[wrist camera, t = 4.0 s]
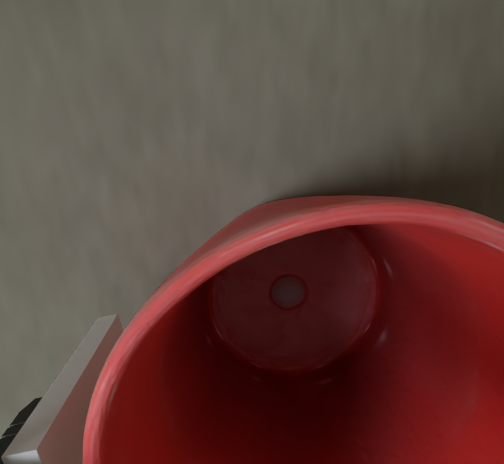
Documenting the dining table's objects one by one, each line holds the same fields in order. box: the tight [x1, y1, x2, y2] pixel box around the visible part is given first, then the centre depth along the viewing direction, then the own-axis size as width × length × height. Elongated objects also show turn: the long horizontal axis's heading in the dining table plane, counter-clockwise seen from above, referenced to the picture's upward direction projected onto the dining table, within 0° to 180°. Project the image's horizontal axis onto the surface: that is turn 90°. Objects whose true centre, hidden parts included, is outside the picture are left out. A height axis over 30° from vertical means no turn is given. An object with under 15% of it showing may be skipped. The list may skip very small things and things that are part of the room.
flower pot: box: [83, 195, 504, 464], centre depth 13 cm, size 11×11×10 cm
